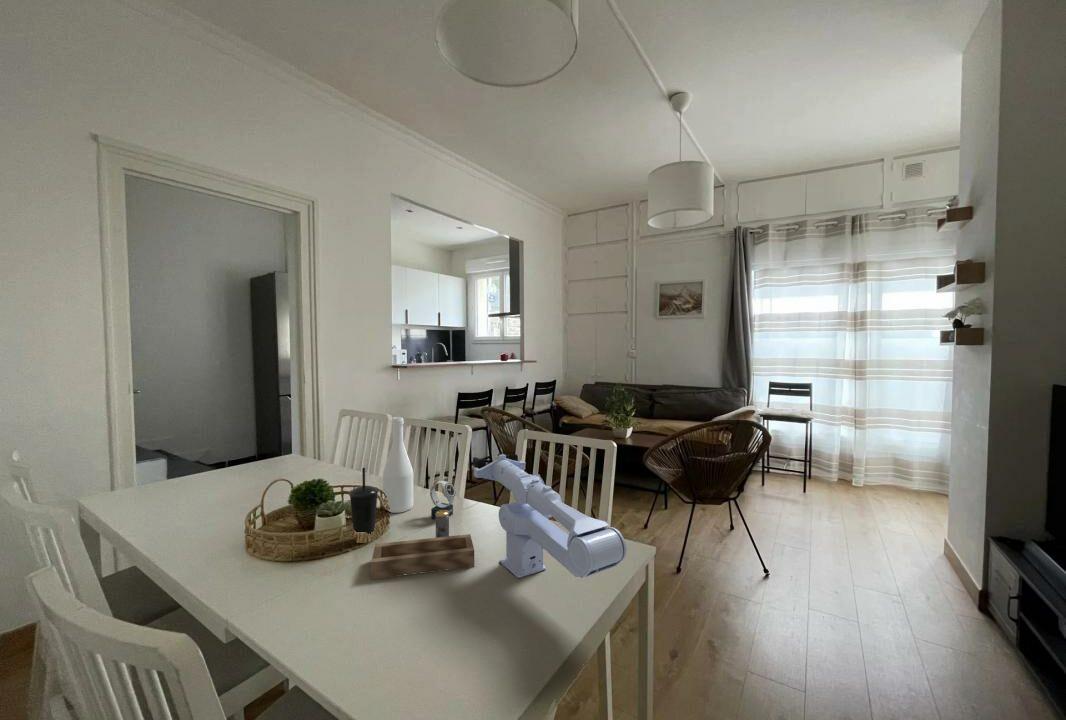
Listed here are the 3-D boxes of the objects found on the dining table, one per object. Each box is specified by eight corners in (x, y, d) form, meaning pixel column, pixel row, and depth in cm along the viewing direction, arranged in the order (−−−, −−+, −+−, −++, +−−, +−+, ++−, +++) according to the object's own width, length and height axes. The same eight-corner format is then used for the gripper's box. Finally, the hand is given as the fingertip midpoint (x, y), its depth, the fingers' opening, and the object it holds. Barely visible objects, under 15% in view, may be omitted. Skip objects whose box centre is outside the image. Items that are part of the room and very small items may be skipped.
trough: (470, 548, 113) (470, 534, 113) (474, 566, 104) (474, 550, 104) (375, 559, 107) (375, 544, 107) (371, 579, 98) (371, 562, 98)
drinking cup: (383, 534, 121) (383, 464, 120) (371, 547, 114) (370, 472, 113) (358, 533, 122) (357, 463, 121) (343, 545, 114) (342, 471, 114)
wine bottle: (376, 511, 137) (376, 419, 136) (394, 501, 146) (394, 414, 145) (402, 515, 134) (401, 420, 133) (418, 504, 144) (418, 416, 142)
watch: (448, 521, 130) (448, 486, 129) (426, 517, 133) (426, 482, 132) (458, 515, 135) (458, 480, 135) (436, 511, 138) (436, 477, 138)
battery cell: (451, 542, 117) (450, 513, 116) (438, 545, 115) (438, 516, 114) (446, 537, 120) (446, 508, 119) (433, 540, 118) (433, 511, 117)
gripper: (534, 456, 112) (509, 442, 124) (485, 464, 105) (463, 448, 116) (533, 482, 113) (508, 465, 124) (483, 492, 105) (462, 473, 117)
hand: (486, 459), depth 120 cm, fingers open, 7 cm apart
